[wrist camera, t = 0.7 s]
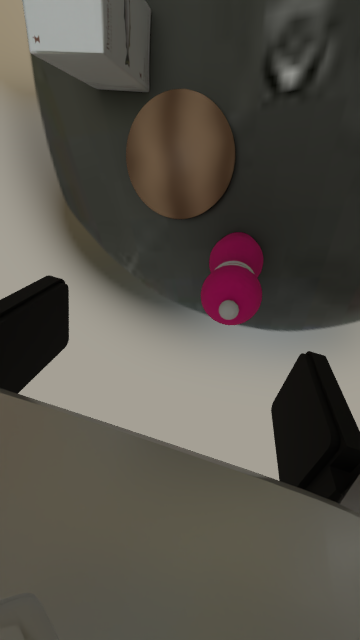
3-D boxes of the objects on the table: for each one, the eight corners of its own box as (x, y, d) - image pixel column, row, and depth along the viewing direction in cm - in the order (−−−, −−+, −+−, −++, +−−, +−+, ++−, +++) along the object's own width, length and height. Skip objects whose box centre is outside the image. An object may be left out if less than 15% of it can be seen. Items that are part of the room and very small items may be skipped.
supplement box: (151, 94, 33) (104, 58, 22) (95, 90, 34) (26, 53, 24) (153, 8, 29) (98, -85, 19) (91, 6, 31) (6, -82, 20)
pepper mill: (204, 261, 42) (173, 323, 25) (229, 218, 38) (214, 258, 21) (243, 284, 42) (239, 361, 25) (272, 245, 39) (290, 304, 22)
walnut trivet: (234, 82, 31) (233, 76, 29) (236, 211, 37) (235, 214, 35) (123, 106, 34) (115, 102, 32) (143, 220, 41) (137, 223, 39)
